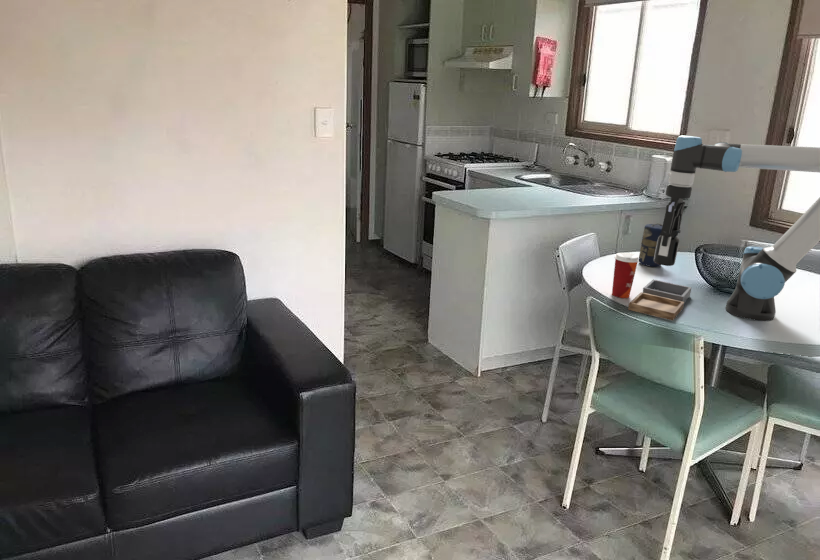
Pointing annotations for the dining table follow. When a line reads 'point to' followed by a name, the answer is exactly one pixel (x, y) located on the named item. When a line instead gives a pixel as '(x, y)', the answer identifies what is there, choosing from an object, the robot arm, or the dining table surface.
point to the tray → (656, 306)
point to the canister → (649, 244)
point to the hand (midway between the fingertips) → (666, 253)
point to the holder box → (668, 290)
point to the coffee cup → (624, 274)
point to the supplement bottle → (672, 251)
